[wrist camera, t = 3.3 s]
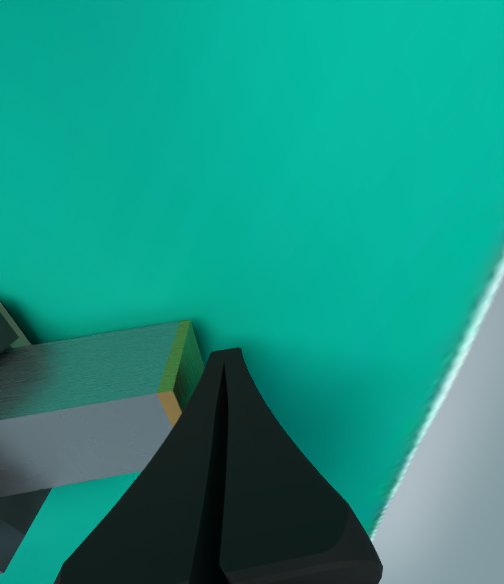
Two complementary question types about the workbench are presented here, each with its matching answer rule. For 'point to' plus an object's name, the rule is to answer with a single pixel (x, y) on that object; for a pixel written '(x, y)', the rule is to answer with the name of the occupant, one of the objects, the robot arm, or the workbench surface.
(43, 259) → the workbench surface
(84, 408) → the peg
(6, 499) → the sleeve
